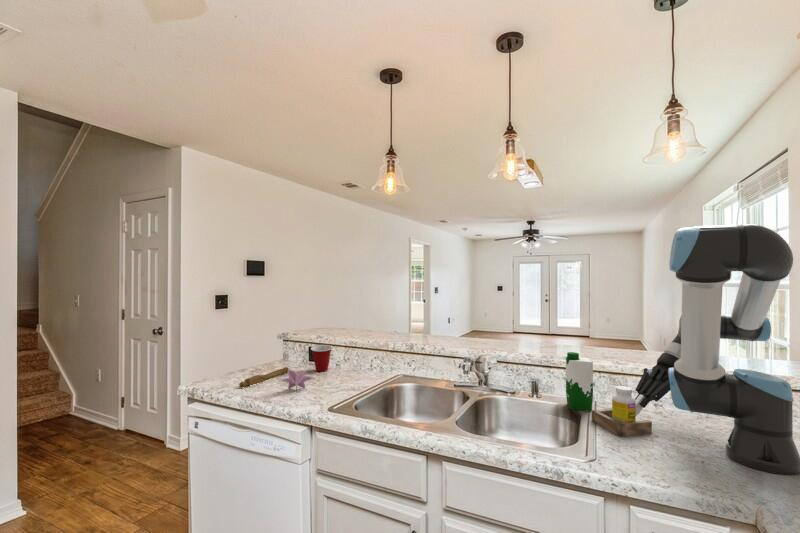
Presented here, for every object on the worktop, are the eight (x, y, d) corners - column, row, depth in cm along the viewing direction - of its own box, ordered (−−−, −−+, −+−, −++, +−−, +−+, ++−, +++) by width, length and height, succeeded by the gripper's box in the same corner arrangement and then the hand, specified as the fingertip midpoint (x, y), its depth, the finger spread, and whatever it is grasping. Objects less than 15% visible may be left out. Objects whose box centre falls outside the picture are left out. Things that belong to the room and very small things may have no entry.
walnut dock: (620, 417, 137) (620, 407, 137) (651, 433, 125) (651, 421, 125) (591, 420, 135) (591, 410, 135) (620, 436, 122) (620, 425, 122)
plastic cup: (307, 372, 197) (307, 348, 197) (315, 367, 208) (315, 344, 208) (328, 373, 196) (328, 349, 196) (335, 368, 206) (335, 345, 206)
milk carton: (564, 402, 153) (563, 350, 154) (589, 404, 152) (589, 351, 152) (568, 410, 145) (568, 355, 145) (595, 412, 143) (595, 356, 143)
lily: (317, 392, 170) (315, 370, 174) (303, 389, 159) (301, 365, 164) (292, 399, 172) (291, 377, 176) (277, 396, 162) (275, 373, 166)
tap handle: (289, 367, 199) (243, 382, 171) (289, 373, 198) (243, 389, 171) (284, 366, 200) (237, 381, 172) (284, 372, 200) (237, 388, 172)
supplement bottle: (629, 433, 125) (629, 392, 125) (608, 426, 130) (608, 387, 130) (639, 428, 128) (639, 388, 128) (618, 421, 134) (618, 383, 134)
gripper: (698, 371, 129) (655, 427, 126) (664, 362, 142) (624, 412, 138) (685, 356, 128) (641, 412, 125) (651, 348, 141) (611, 398, 137)
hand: (632, 412), depth 131 cm, fingers closed
